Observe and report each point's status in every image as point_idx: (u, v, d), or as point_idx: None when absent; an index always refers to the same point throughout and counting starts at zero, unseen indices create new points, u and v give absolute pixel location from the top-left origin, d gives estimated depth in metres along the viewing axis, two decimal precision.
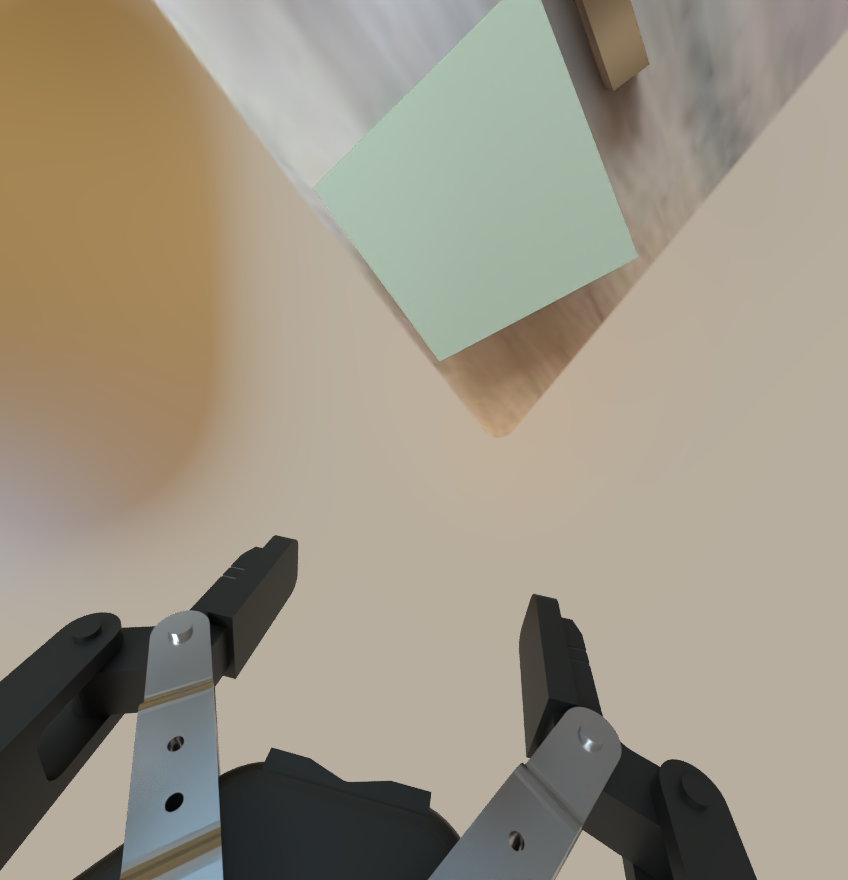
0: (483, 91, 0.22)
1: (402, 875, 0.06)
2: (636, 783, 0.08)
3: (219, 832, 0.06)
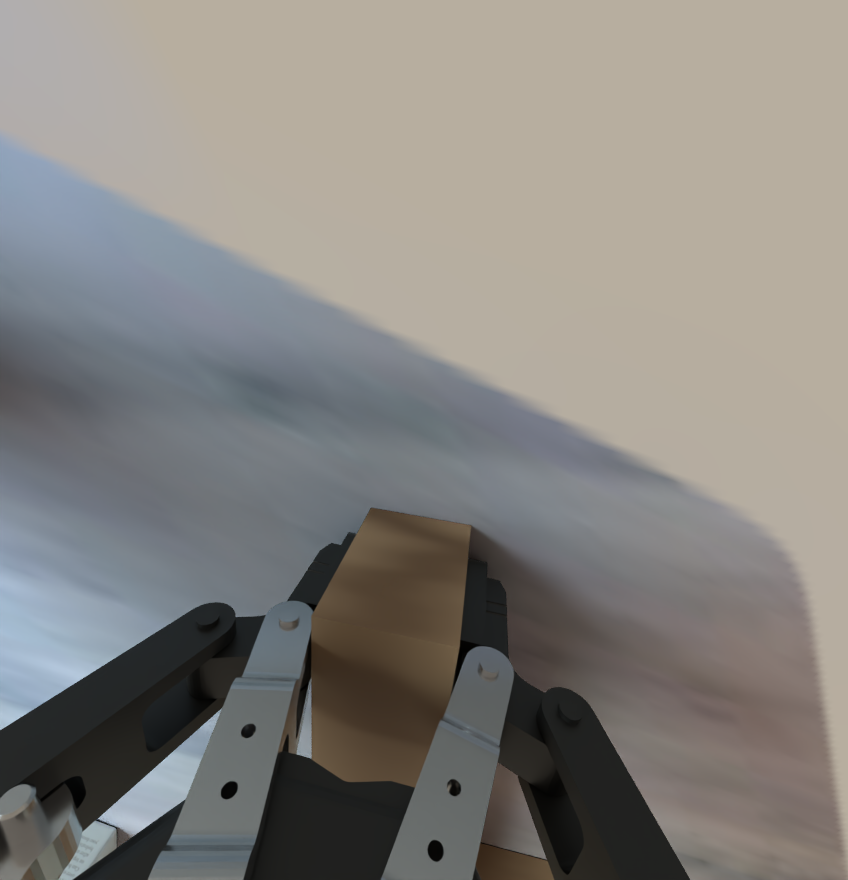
0: None
1: None
2: (525, 708, 0.09)
3: (252, 845, 0.06)
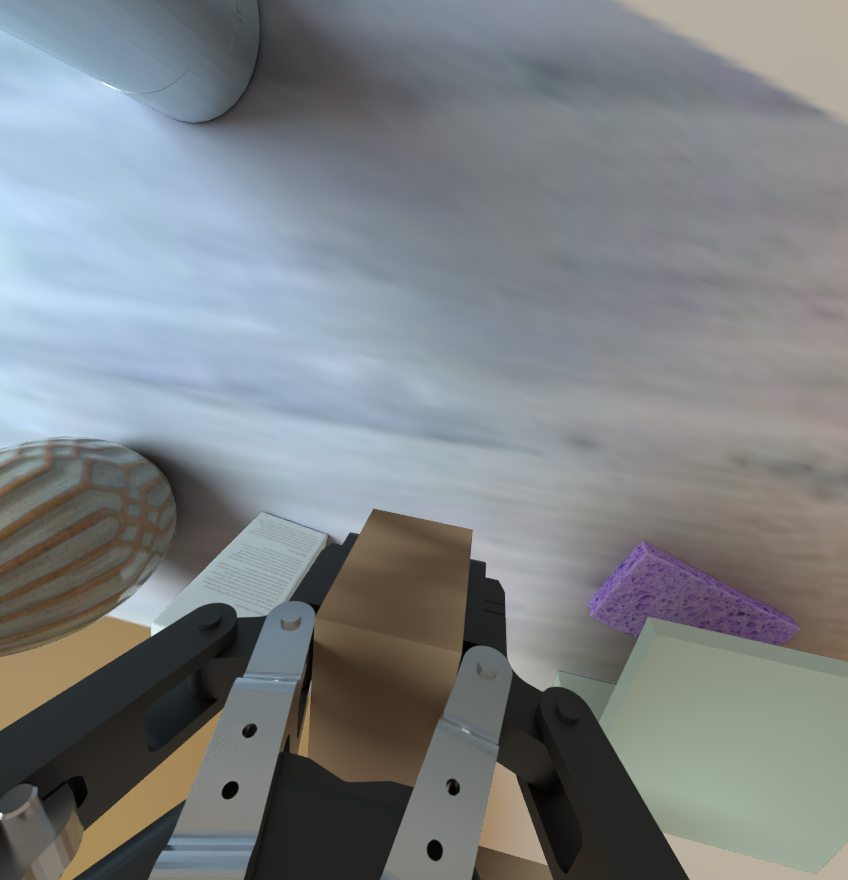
0: (676, 697, 0.22)
1: None
2: (523, 707, 0.09)
3: (253, 845, 0.06)
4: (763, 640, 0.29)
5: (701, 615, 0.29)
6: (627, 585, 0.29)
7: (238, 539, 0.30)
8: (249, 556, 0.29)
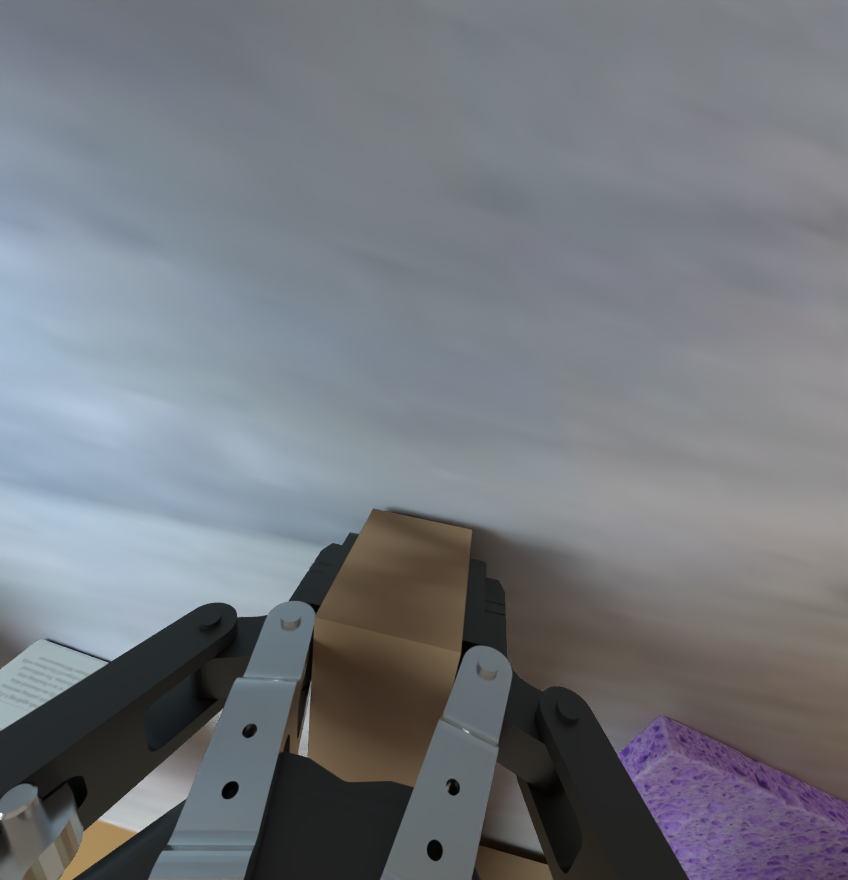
0: None
1: None
2: (523, 707, 0.09)
3: (253, 845, 0.06)
4: None
5: (774, 847, 0.16)
6: None
7: None
8: None
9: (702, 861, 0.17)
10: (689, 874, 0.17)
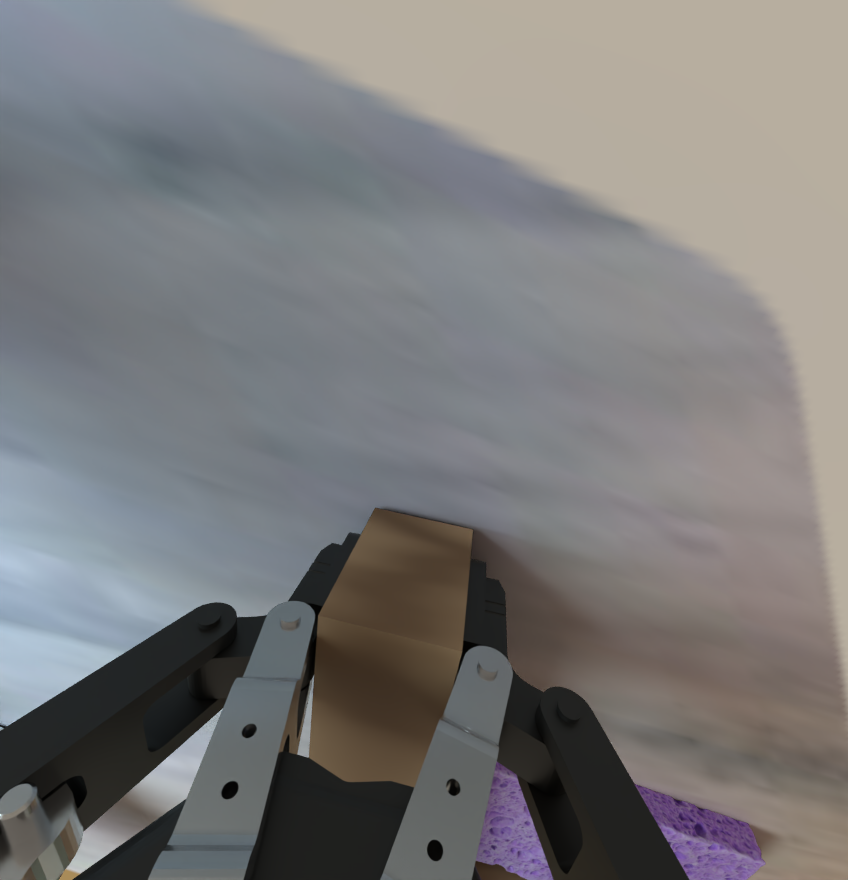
0: None
1: None
2: (524, 707, 0.09)
3: (253, 845, 0.06)
4: (708, 875, 0.17)
5: None
6: None
7: None
8: None
9: (542, 861, 0.18)
10: (537, 874, 0.19)
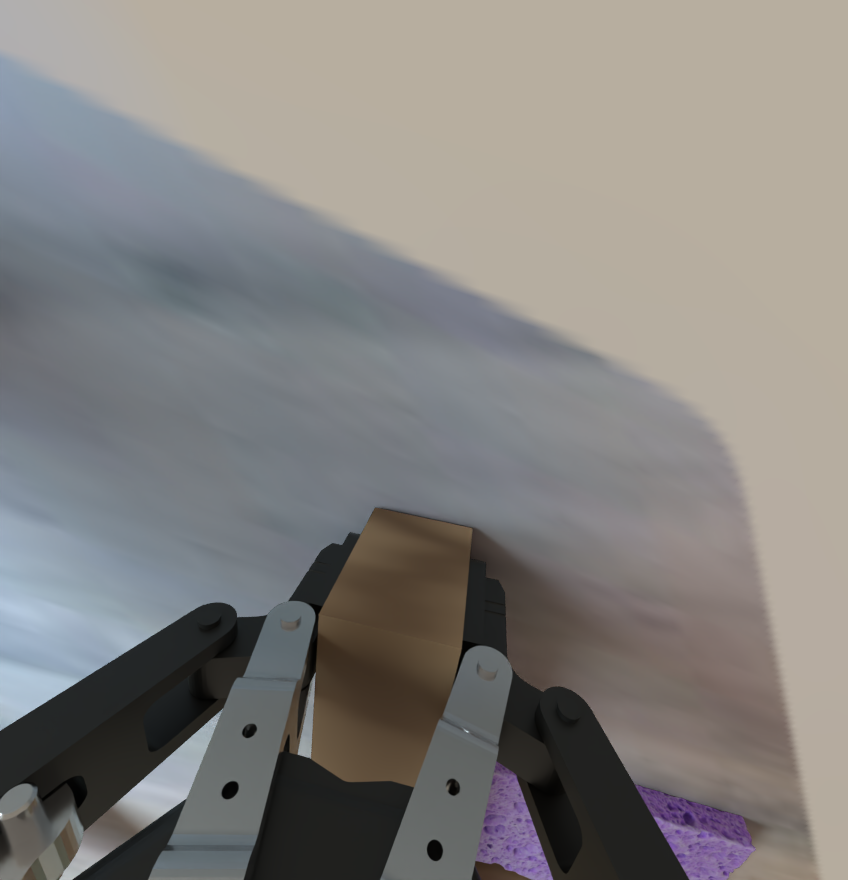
0: None
1: None
2: (524, 707, 0.09)
3: (253, 845, 0.06)
4: (702, 864, 0.17)
5: None
6: None
7: None
8: None
9: (538, 858, 0.19)
10: (535, 871, 0.19)
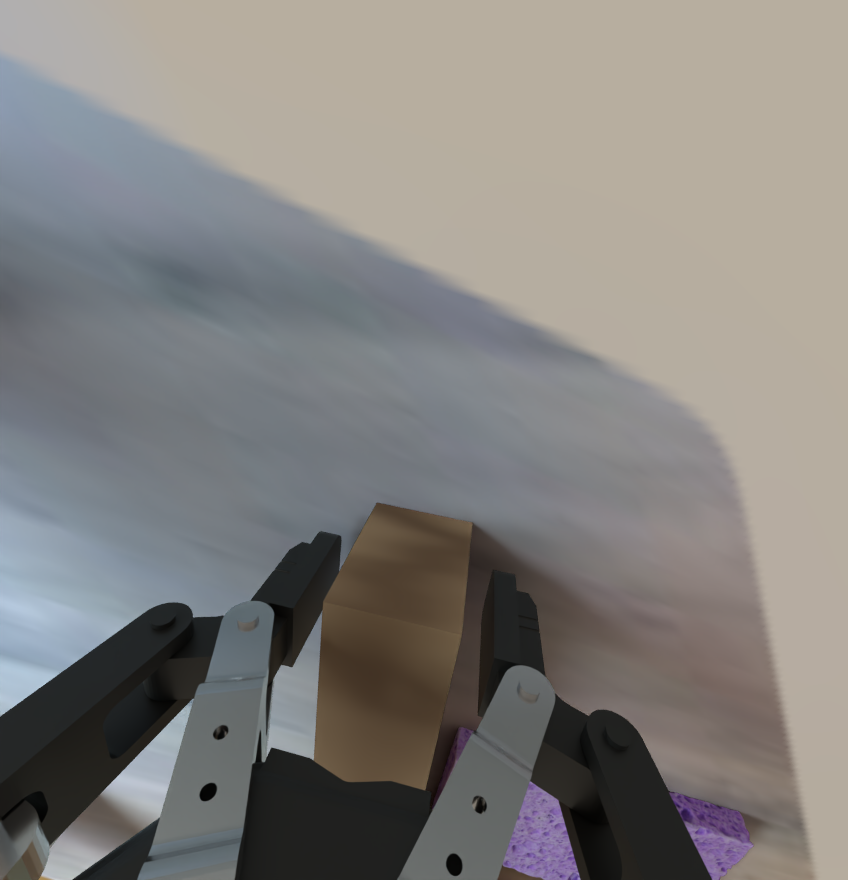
0: None
1: None
2: (568, 731, 0.09)
3: (240, 837, 0.06)
4: None
5: None
6: None
7: None
8: None
9: (537, 854, 0.19)
10: (534, 867, 0.19)
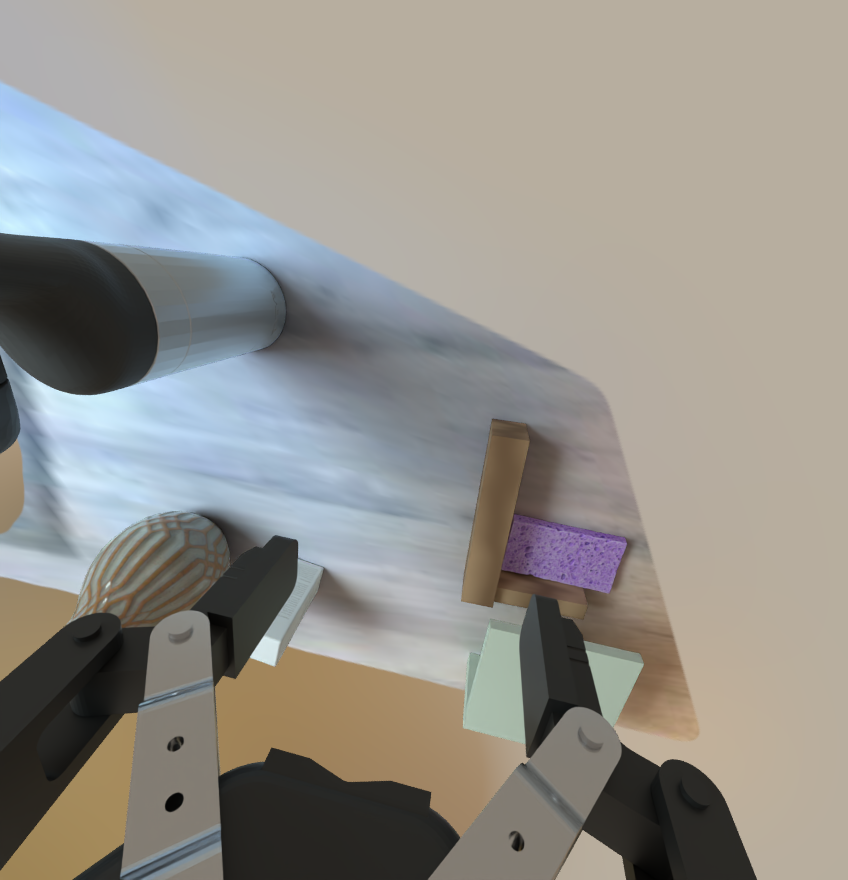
0: (505, 661, 0.42)
1: (402, 875, 0.06)
2: (636, 783, 0.08)
3: (219, 832, 0.06)
4: (610, 556, 0.45)
5: (564, 550, 0.45)
6: (512, 543, 0.46)
7: None
8: None
9: (547, 566, 0.46)
10: (546, 574, 0.47)
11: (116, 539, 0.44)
